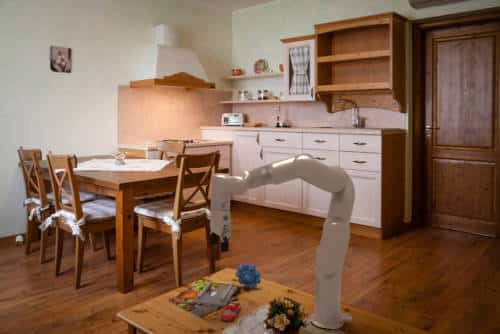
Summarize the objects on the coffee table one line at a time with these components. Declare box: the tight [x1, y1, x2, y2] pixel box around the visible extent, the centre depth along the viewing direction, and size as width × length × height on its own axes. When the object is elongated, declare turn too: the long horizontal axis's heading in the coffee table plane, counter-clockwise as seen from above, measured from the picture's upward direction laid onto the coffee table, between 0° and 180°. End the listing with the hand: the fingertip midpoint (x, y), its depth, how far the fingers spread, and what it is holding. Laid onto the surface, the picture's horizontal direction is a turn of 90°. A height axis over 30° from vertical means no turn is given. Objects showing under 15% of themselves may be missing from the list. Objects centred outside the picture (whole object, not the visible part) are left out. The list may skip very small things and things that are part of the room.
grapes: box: [235, 262, 262, 289], centre depth 196 cm, size 12×7×12 cm, turn 84°
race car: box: [219, 301, 242, 322], centre depth 171 cm, size 13×5×4 cm, turn 162°
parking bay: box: [192, 280, 238, 308], centre depth 189 cm, size 14×21×2 cm, turn 168°
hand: (219, 247), depth 171 cm, fingers open, 9 cm apart
